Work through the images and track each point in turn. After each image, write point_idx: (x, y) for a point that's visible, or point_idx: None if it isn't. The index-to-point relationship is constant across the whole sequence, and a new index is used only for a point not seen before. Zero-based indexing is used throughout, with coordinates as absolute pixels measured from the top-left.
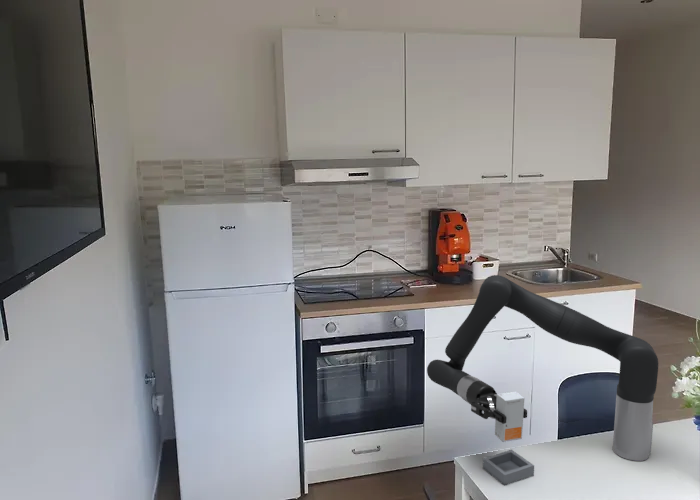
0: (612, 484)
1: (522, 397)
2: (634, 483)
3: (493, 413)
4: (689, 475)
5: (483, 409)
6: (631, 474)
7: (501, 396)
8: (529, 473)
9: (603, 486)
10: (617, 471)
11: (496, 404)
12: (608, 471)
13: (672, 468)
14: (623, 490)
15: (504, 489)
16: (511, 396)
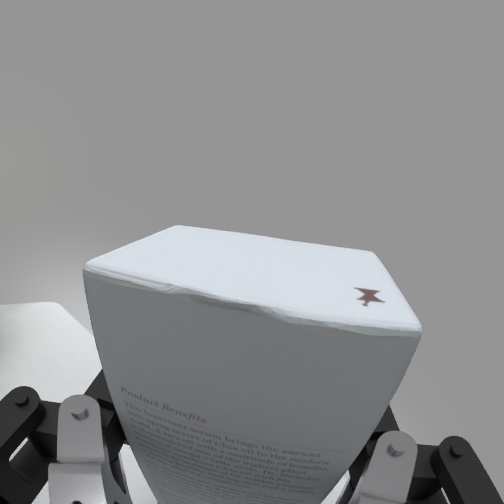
0: (84, 361)
1: (183, 227)
2: (63, 342)
3: (397, 430)
4: (15, 306)
5: (473, 455)
6: (38, 348)
7: (380, 280)
8: None
9: (100, 369)
10: (38, 363)
11: (366, 437)
12: (44, 372)
13: (4, 318)
14: (93, 348)
15: None
16: (261, 249)
